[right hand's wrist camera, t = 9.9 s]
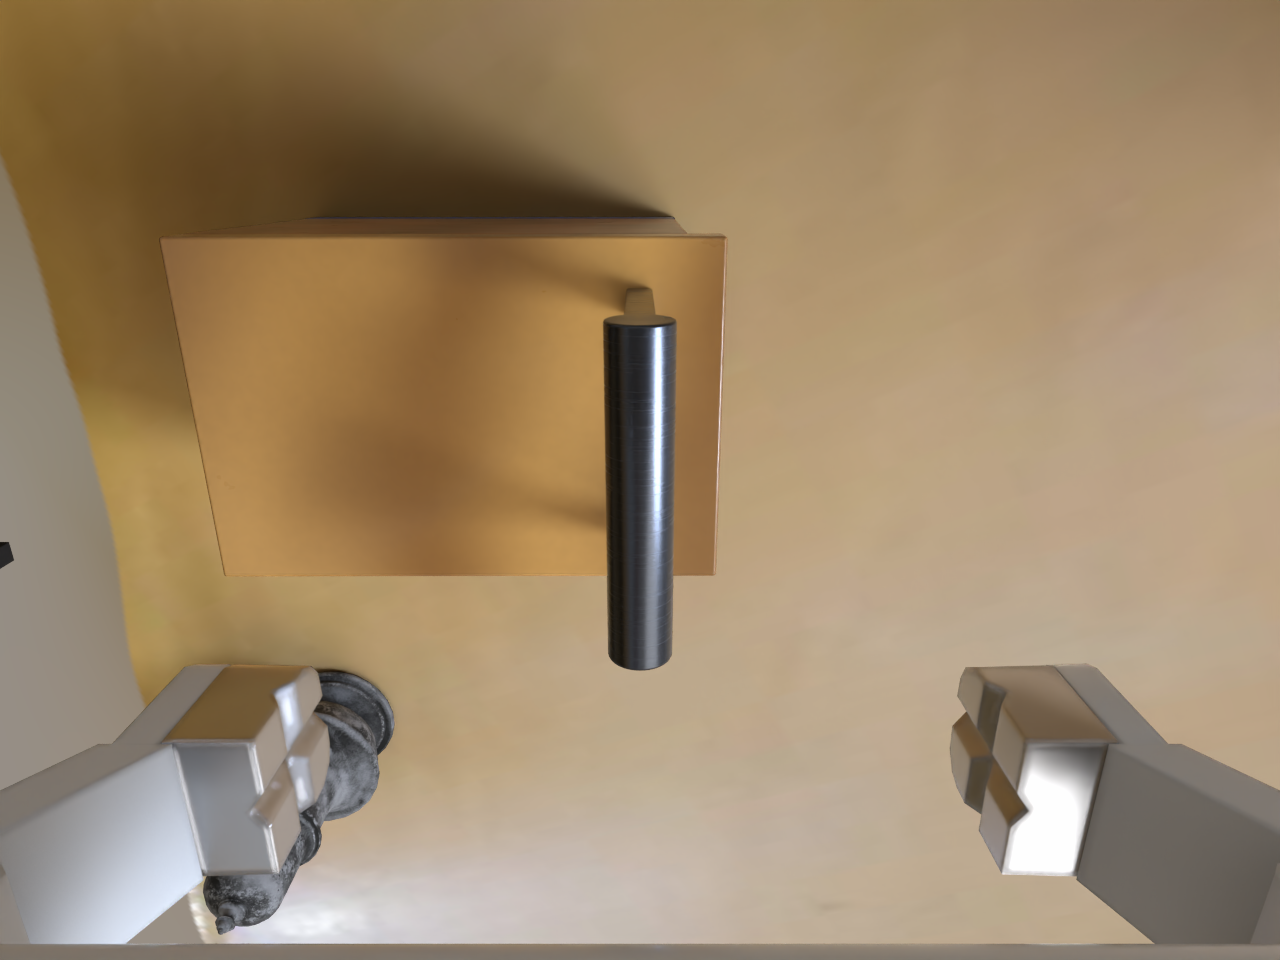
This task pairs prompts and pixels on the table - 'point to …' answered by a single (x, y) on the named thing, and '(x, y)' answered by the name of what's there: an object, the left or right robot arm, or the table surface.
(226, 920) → the grey chess piece
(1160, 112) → the table surface
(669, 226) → the chest
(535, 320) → the lid
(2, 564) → the left robot arm
